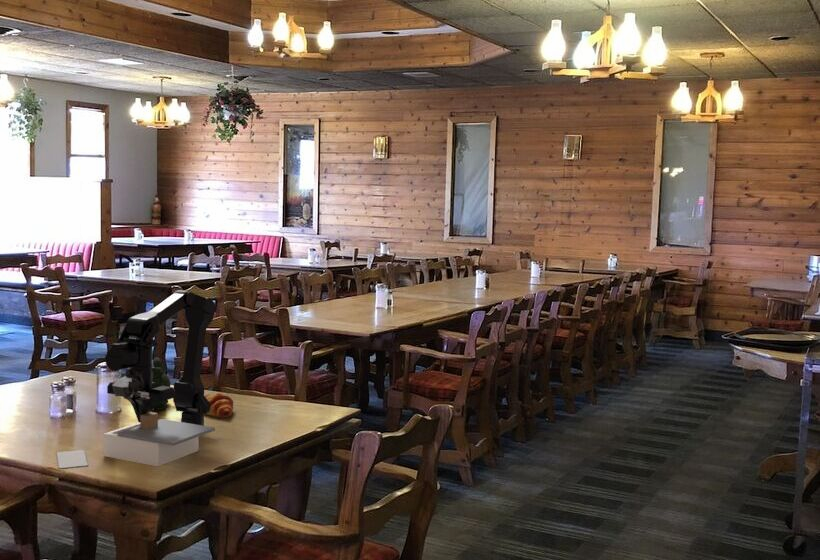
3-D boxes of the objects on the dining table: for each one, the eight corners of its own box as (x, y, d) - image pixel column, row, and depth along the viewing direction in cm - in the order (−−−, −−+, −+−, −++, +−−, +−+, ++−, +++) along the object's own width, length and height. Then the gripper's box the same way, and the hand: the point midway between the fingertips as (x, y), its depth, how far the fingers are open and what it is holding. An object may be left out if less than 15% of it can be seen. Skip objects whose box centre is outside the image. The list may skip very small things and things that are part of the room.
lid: (161, 421, 238) (161, 406, 237) (214, 430, 230) (215, 414, 230) (117, 435, 223) (117, 419, 222) (173, 445, 215) (173, 429, 215)
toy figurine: (172, 420, 270) (169, 395, 293) (173, 362, 266) (169, 341, 290) (141, 422, 267) (140, 396, 290) (141, 363, 264) (140, 342, 287)
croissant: (198, 416, 282) (186, 396, 280) (224, 400, 287) (213, 380, 284) (220, 430, 265) (208, 409, 262) (247, 412, 269) (236, 391, 266)
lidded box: (146, 441, 240) (146, 420, 240) (198, 450, 233) (198, 429, 232) (103, 456, 226) (103, 433, 225) (158, 466, 218) (158, 443, 218)
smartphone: (58, 468, 214) (56, 452, 227) (58, 470, 214) (56, 454, 227) (88, 465, 217) (84, 449, 230) (88, 467, 217) (84, 451, 230)
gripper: (91, 365, 225) (91, 424, 227) (147, 373, 217) (147, 434, 219) (122, 359, 235) (122, 415, 237) (176, 366, 227) (176, 424, 229)
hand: (140, 422), depth 230 cm, fingers closed
